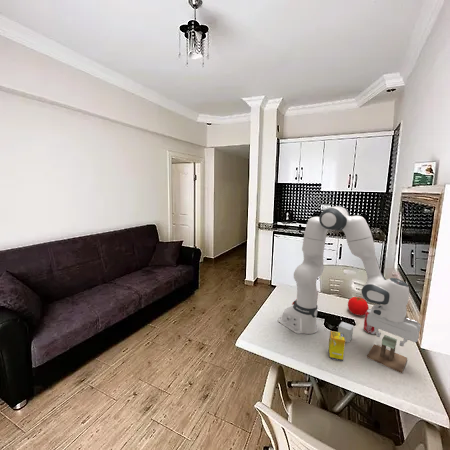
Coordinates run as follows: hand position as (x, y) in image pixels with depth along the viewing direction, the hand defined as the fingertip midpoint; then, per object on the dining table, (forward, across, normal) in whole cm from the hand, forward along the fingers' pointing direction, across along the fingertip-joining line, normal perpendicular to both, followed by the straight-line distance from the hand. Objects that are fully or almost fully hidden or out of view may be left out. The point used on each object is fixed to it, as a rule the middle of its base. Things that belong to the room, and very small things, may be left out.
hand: (389, 340), depth 117 cm
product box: (+10, +20, -2) cm, 22 cm away
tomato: (+10, +24, -35) cm, 44 cm away
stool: (+8, 0, 0) cm, 8 cm away
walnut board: (+9, 0, 0) cm, 9 cm away
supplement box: (+10, +18, +16) cm, 26 cm away
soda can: (+10, +12, -19) cm, 24 cm away
